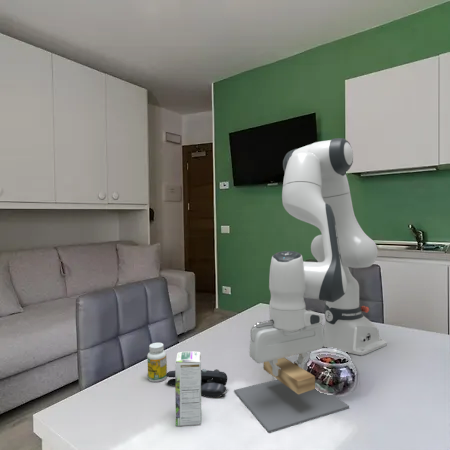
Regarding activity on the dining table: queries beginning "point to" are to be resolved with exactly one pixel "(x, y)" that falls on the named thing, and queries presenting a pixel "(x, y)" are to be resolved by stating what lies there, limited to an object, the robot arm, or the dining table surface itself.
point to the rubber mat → (286, 404)
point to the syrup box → (188, 388)
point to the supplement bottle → (157, 363)
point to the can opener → (208, 382)
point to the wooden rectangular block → (292, 376)
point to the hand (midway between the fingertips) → (287, 372)
